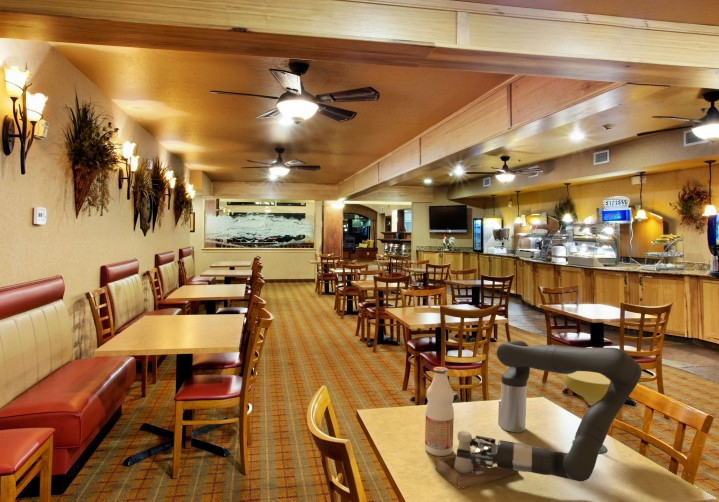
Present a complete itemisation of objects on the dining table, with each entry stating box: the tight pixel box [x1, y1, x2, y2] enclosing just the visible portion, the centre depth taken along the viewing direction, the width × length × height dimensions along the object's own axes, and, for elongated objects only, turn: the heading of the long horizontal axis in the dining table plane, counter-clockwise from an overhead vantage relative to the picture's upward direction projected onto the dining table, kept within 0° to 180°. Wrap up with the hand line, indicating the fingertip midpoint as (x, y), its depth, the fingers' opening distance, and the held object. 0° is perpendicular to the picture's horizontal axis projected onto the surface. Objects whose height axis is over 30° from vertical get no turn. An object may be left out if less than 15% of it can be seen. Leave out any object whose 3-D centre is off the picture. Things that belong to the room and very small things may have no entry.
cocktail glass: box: [563, 370, 610, 455], centre depth 156 cm, size 18×18×25 cm
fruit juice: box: [424, 366, 455, 457], centre depth 151 cm, size 9×9×28 cm
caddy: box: [435, 454, 520, 489], centre depth 138 cm, size 12×22×3 cm, turn 115°
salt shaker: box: [453, 430, 474, 475], centre depth 136 cm, size 6×6×13 cm
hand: (458, 446), depth 136 cm, fingers open, 8 cm apart
